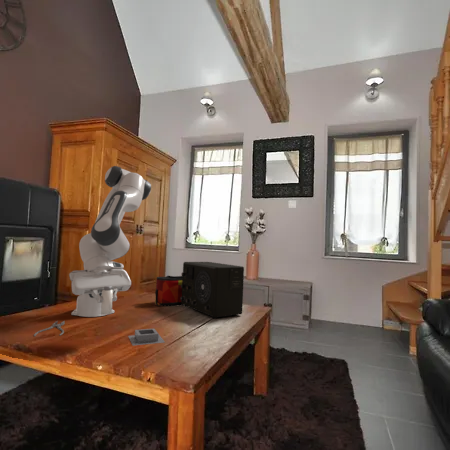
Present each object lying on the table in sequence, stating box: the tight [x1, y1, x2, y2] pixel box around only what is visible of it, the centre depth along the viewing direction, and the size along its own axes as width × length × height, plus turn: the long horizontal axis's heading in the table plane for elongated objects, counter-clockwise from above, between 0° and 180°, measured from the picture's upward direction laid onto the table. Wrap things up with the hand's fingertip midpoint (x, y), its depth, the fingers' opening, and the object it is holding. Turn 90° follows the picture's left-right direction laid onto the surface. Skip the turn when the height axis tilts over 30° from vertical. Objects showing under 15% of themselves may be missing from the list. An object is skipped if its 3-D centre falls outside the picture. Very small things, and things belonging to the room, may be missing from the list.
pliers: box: [33, 320, 65, 337], centre depth 119 cm, size 10×1×20 cm
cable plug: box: [101, 286, 114, 316], centre depth 106 cm, size 4×4×9 cm
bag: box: [154, 275, 184, 307], centre depth 181 cm, size 30×14×16 cm, turn 130°
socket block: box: [128, 328, 166, 346], centre depth 109 cm, size 11×11×4 cm
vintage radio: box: [180, 261, 245, 319], centre depth 165 cm, size 38×20×25 cm, turn 35°
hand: (107, 301), depth 105 cm, fingers closed on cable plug, 3 cm apart
